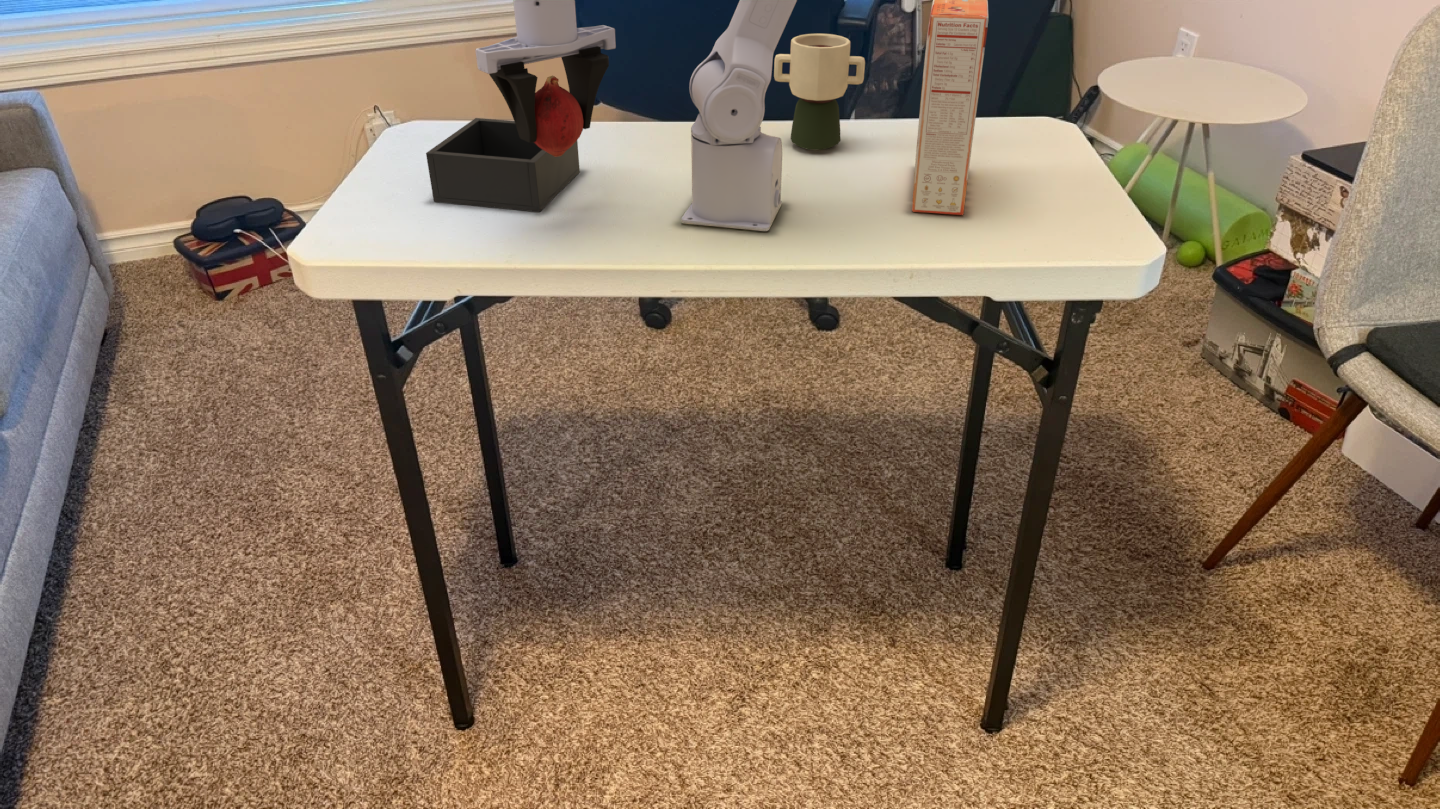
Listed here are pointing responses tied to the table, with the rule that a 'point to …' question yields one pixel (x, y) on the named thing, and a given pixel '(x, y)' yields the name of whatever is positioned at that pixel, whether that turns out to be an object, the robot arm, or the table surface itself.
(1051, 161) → the table surface
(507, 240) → the table surface
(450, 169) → the open storage bin
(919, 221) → the table surface
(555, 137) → the onion
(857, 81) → the beige and green cup
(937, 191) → the cracker box
